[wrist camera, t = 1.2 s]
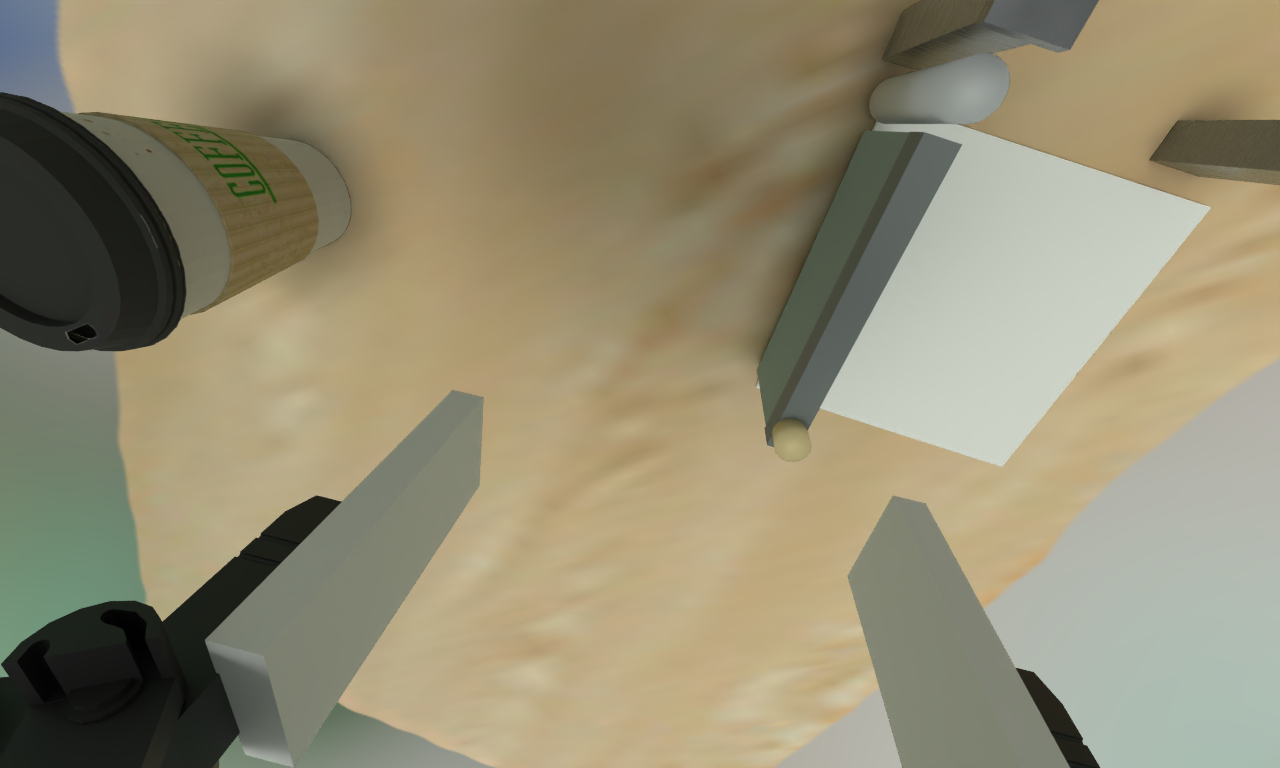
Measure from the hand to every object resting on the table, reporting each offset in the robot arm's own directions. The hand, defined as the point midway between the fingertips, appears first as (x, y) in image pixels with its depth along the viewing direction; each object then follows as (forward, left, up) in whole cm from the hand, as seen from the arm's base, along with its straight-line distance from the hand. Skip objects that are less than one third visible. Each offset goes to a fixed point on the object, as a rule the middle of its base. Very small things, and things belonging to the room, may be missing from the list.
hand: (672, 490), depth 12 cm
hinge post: (-14, +6, -21) cm, 25 cm away
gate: (-4, +6, -20) cm, 21 cm away
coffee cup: (+3, -25, -21) cm, 33 cm away
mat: (-2, +14, -21) cm, 25 cm away
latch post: (-13, +20, -21) cm, 32 cm away
